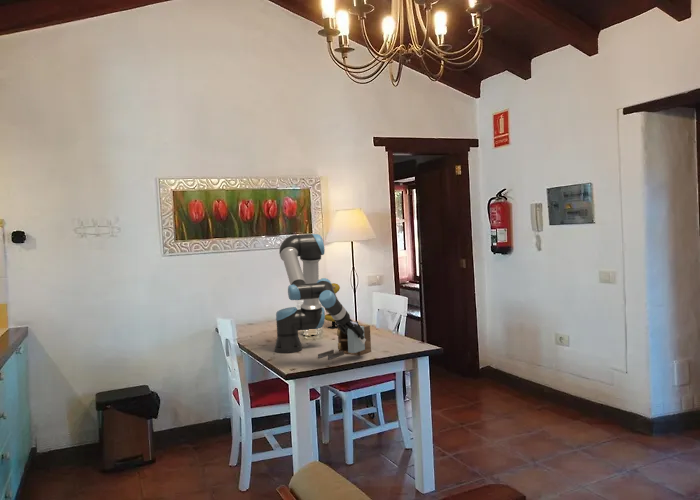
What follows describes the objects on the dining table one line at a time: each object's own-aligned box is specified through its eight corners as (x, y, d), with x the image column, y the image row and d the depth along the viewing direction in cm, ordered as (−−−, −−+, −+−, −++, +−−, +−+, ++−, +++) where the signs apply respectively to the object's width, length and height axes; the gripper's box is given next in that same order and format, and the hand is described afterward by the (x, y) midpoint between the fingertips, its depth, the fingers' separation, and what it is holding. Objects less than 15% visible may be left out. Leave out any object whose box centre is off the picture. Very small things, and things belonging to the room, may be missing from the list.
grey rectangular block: (348, 352, 289) (347, 328, 288) (358, 348, 296) (357, 325, 295) (354, 353, 286) (353, 329, 286) (364, 349, 294) (363, 326, 293)
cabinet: (318, 358, 296) (316, 331, 295) (345, 348, 315) (344, 323, 315) (344, 361, 286) (342, 333, 285) (371, 351, 305) (369, 325, 305)
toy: (318, 329, 380) (315, 284, 379) (321, 326, 392) (319, 282, 391) (341, 329, 378) (339, 283, 377) (344, 325, 391) (341, 282, 389)
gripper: (322, 319, 283) (344, 346, 297) (350, 322, 273) (371, 349, 287) (329, 307, 287) (350, 334, 301) (356, 309, 277) (377, 336, 291)
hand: (360, 341), depth 294 cm, fingers closed on grey rectangular block, 4 cm apart
